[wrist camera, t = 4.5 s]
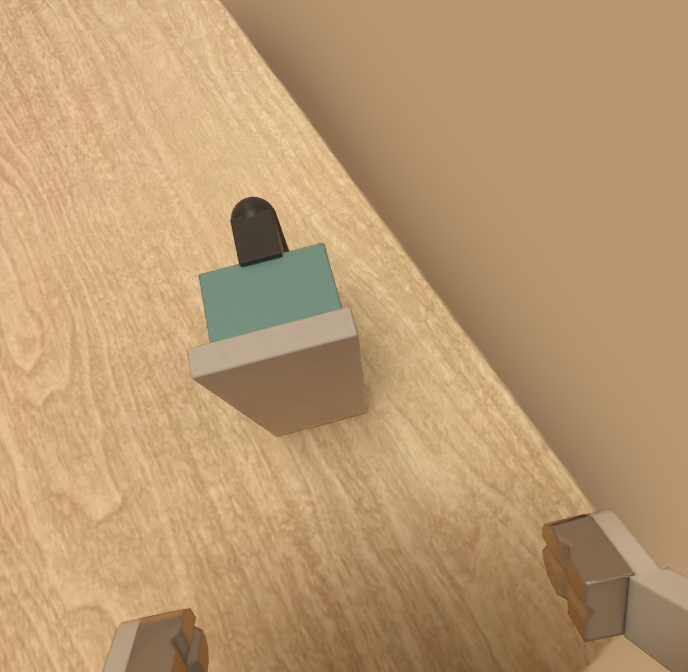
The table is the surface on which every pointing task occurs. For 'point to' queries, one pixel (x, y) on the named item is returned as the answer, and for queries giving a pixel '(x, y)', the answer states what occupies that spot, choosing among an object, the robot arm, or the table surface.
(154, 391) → the table surface
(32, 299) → the table surface
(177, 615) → the robot arm
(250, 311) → the iron
